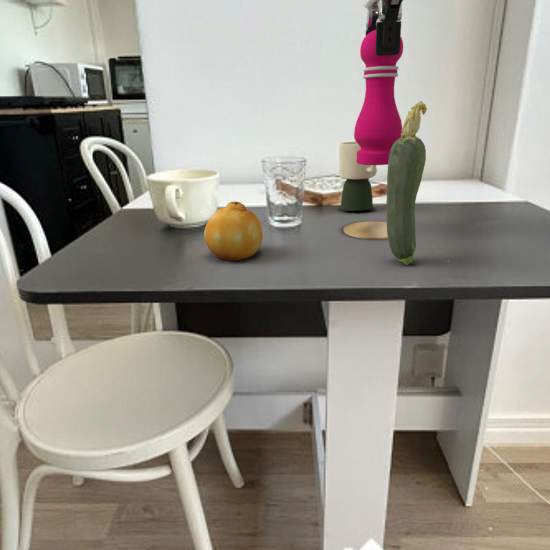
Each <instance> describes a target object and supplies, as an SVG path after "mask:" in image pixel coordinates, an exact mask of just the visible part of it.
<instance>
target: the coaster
mask: <svg viewBox="0 0 550 550" xmlns="http://www.w3.org/2000/svg"><path fill="white" fill-rule="evenodd" d="M343 233H344V234H346V235H347V236H350V237H353V238H357V239H363V240H388V235H387V221H378V220H377V221H359V222H353V223H350V224H347V225H345V226H344V227H343Z"/></svg>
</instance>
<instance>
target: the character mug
mask: <svg viewBox="0 0 550 550" xmlns="http://www.w3.org/2000/svg"><path fill="white" fill-rule="evenodd" d="M359 150H361V148H360V146H359V145H358V143H357V142H356V141H345V142H339V150H338V151H339V152H338V154H339V155H338V177H339V178H341V179H346V180H345V181H344V183H343V186H342V193H341V198H340V199H341V200H340V209H341V210H342V211H346V212H355V211H358V212H359V213H362V212H363V211H371V210H373V209H374V205H373V204H374V203H373V192H372V191H373V190H372V183H371V181H370V179H371V178H373V177H375V176H376V175H377V172H378V169H377V165H362V164H358V163H357V151H359Z"/></svg>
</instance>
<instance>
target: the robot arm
mask: <svg viewBox="0 0 550 550" xmlns="http://www.w3.org/2000/svg"><path fill="white" fill-rule="evenodd" d="M404 1H405V0H362V5H363V7H364V8H366V9H367V14H366V25H365V36H366V35H367V34H369V33H370V32H372V31H374V30H376V49H375V54H376V55H377V56H387V55H398V54H399V52H400V37H401V38H402V34H401V33H402V16H403V5H402V3H403V2H404ZM378 18H379V21H380V22H377V20H378ZM376 22H377V23H376Z"/></svg>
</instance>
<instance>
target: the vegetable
mask: <svg viewBox="0 0 550 550" xmlns="http://www.w3.org/2000/svg"><path fill="white" fill-rule="evenodd" d="M427 110H428V108H427V106H426V104H425V103H424V101H422V100H419V102H417V103H415V104H414V105H413V106H412V107H410V111H407V115H405V118H404V122H403V124H402V134H401V135H402V136H401V138H399V139H398V140H397V141H396V142H395V143H394V144H393V146H392V148H391V151H390V155H389V161H388V165H387V176H386V222H387V235H388V239H387V241H388V246H389V249H390V252H391V254H392V255H393V256H394V257H395V258H396V259H397V260H398V261H399V262H400V263H403V264H404V266H405V265H406V266H409V264H412V263H413V261H414V255H415V251H416V247H417V239H416V214H415V211H416V210H415V209H416V200H417V197H418V193H419V190H420V186H421V184H422V183H421V182H422V179H423V175H424V170H425V166H426V159H427V152H426V151H427V149H426V146H425V144H424V142H423V140H422V139H421V138H420V137H418V136H417V133H418V132H419V130H420V127H421V121H422V116H421V114H422V115H423V116H424V115H425V114H426V113H427Z"/></svg>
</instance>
